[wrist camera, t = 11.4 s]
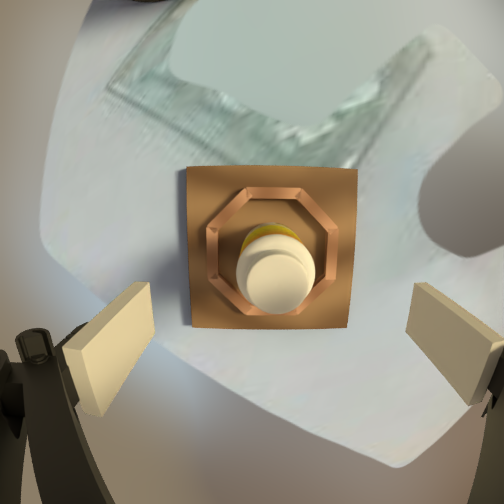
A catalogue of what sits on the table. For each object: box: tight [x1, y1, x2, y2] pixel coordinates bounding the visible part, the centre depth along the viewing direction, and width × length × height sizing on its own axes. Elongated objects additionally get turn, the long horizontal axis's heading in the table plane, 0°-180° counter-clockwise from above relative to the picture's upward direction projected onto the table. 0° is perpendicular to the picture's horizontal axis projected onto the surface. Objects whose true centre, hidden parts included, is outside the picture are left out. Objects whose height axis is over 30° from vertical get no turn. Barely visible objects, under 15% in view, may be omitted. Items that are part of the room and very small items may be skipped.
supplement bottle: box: [236, 222, 315, 314], centre depth 24 cm, size 6×6×10 cm
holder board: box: [187, 165, 358, 329], centre depth 29 cm, size 16×16×2 cm
